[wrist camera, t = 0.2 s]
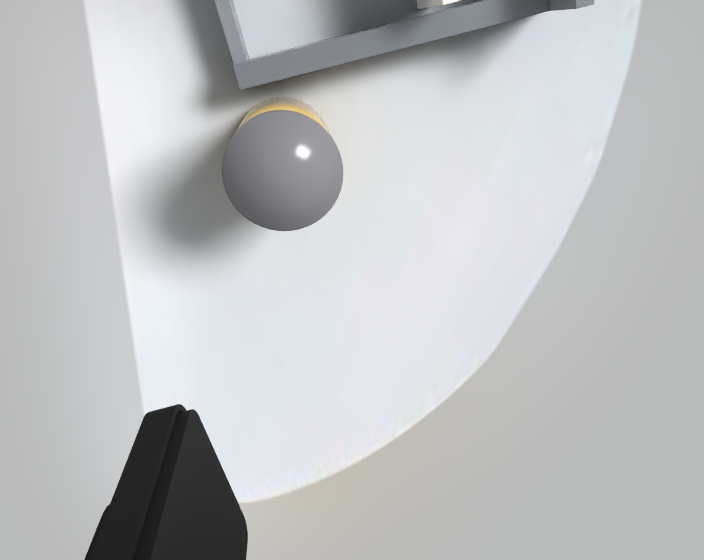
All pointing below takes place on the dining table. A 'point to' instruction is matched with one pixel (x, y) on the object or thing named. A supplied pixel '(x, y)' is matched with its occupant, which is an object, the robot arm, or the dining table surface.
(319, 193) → the honey jar
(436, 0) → the pusher
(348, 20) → the dining table surface
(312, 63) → the grey open rectangular box
